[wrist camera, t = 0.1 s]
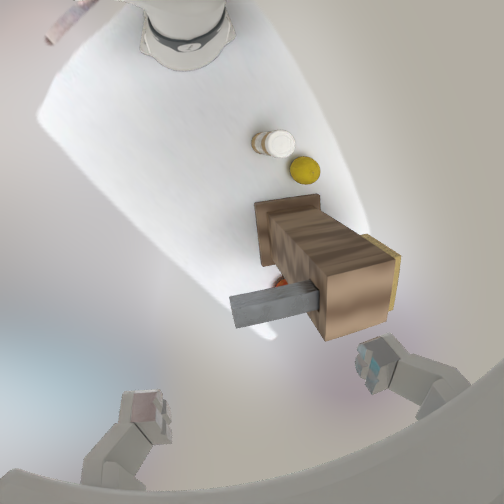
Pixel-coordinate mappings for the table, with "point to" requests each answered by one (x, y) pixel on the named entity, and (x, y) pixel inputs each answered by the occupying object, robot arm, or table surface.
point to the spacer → (397, 265)
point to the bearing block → (326, 263)
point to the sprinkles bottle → (274, 143)
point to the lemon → (305, 170)
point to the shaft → (274, 303)
